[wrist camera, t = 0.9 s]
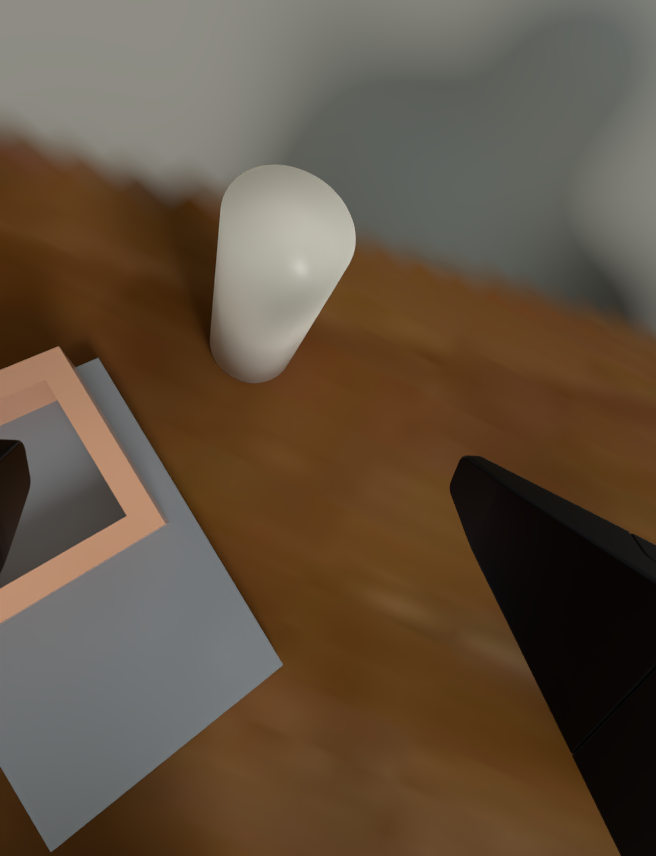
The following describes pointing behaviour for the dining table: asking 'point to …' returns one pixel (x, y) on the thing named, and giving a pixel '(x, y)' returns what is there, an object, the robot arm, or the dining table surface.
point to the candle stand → (105, 604)
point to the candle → (274, 267)
